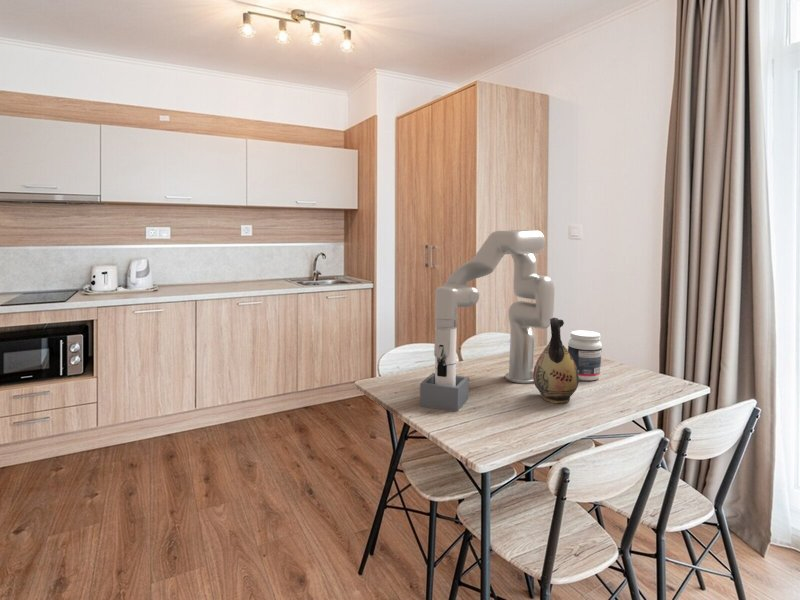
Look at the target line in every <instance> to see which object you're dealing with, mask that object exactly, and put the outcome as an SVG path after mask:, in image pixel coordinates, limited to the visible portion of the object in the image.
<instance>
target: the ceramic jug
mask: <svg viewBox="0 0 800 600" xmlns="http://www.w3.org/2000/svg"><path fill="white" fill-rule="evenodd" d="M564 325H565V322H564V319H559V318H557V317H553V318H551V319H550V333H551V337H550V340H549V342H548V344H547V345H546V347H545V348H544V350H543V351H542V352H541V354H540V355H539V357H538V358H537V360H536V362H535V365H534V367H535V368H534V374H533V380H534V382H533V384H534V386H535V388H536V389H537V390H538V392H539V393H540V394H541V396H542V398H543V400H544V401H546V402H549V403H552V404H558V403H559V404H561V403H562V404H563V403H567V402H570V400H571V396H573V394H574V393H576V391H577V389H578V387H579V384H580V383H579V382H580V380H579V376H578V371H577V367H576V364H575V362H574V360H573V358H572V357H571V355H570V354H569V352H568V348H566V347H565V345H564V344H563V342H562V339H561V328H562V327H563V326H564Z"/></svg>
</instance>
